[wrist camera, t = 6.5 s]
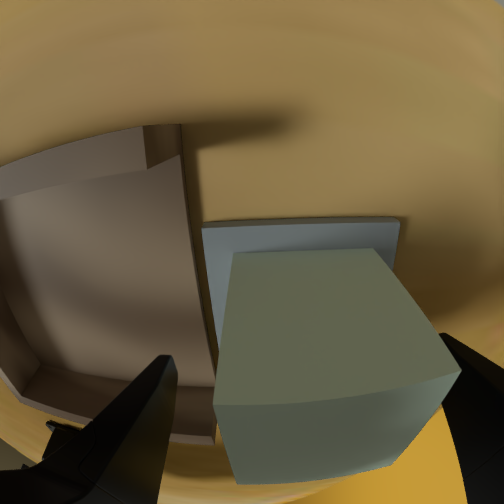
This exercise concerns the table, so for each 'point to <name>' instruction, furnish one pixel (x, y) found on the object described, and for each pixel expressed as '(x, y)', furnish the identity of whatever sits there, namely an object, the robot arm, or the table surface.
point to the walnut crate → (102, 278)
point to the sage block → (323, 366)
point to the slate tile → (288, 244)
